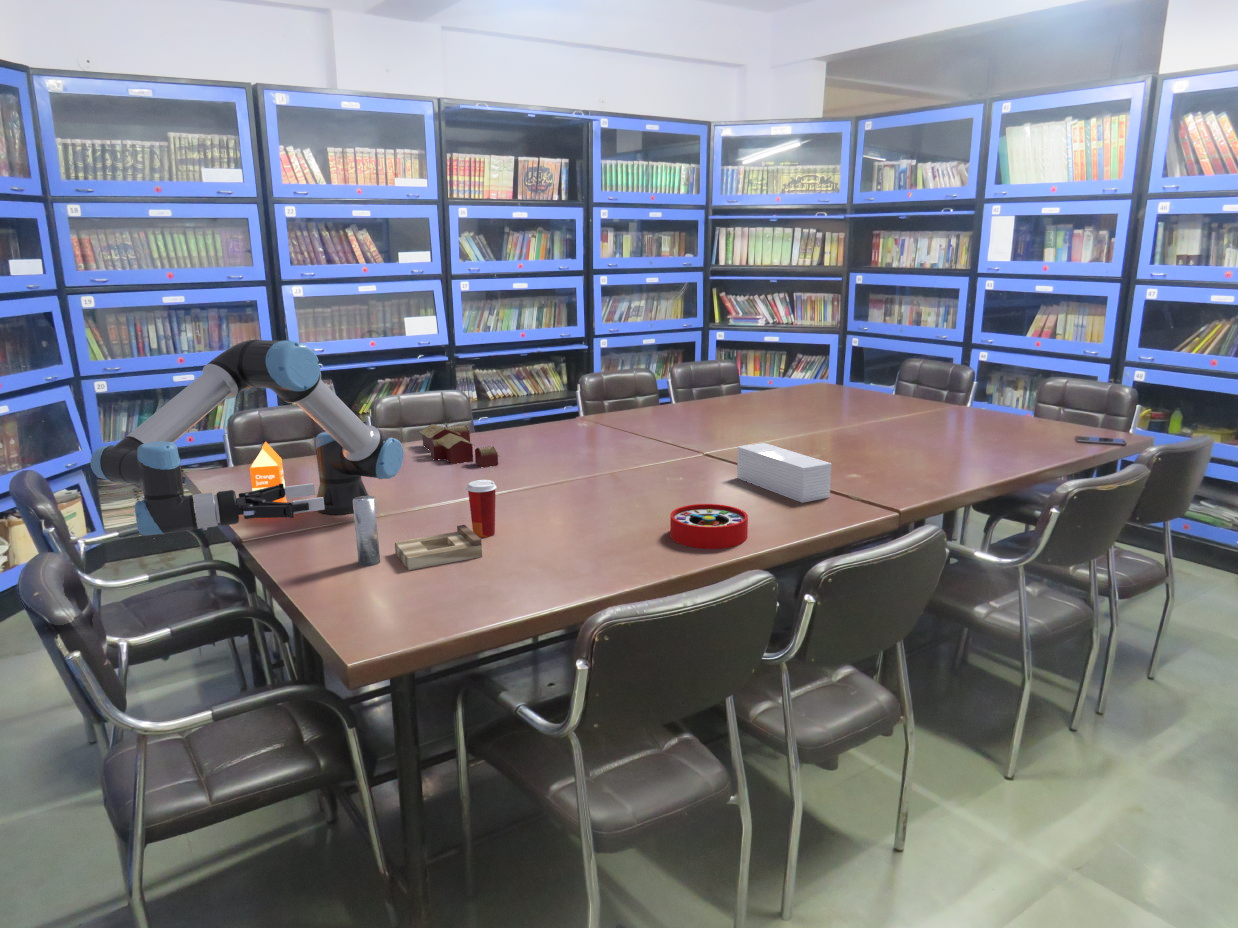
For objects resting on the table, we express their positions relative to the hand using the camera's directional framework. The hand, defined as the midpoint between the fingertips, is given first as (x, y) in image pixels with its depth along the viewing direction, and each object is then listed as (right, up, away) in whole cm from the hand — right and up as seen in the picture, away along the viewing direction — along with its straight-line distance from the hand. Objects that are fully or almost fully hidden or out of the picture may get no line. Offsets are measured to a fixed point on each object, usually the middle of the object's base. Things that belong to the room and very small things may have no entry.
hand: (319, 495), depth 192 cm
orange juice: (-32, -7, +50) cm, 59 cm away
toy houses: (+10, +10, +114) cm, 115 cm away
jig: (+25, -15, +13) cm, 32 cm away
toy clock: (+92, -12, +25) cm, 97 cm away
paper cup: (+33, -11, +28) cm, 45 cm away
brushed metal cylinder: (+9, -16, +9) cm, 21 cm away
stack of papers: (+120, 0, +69) cm, 138 cm away
